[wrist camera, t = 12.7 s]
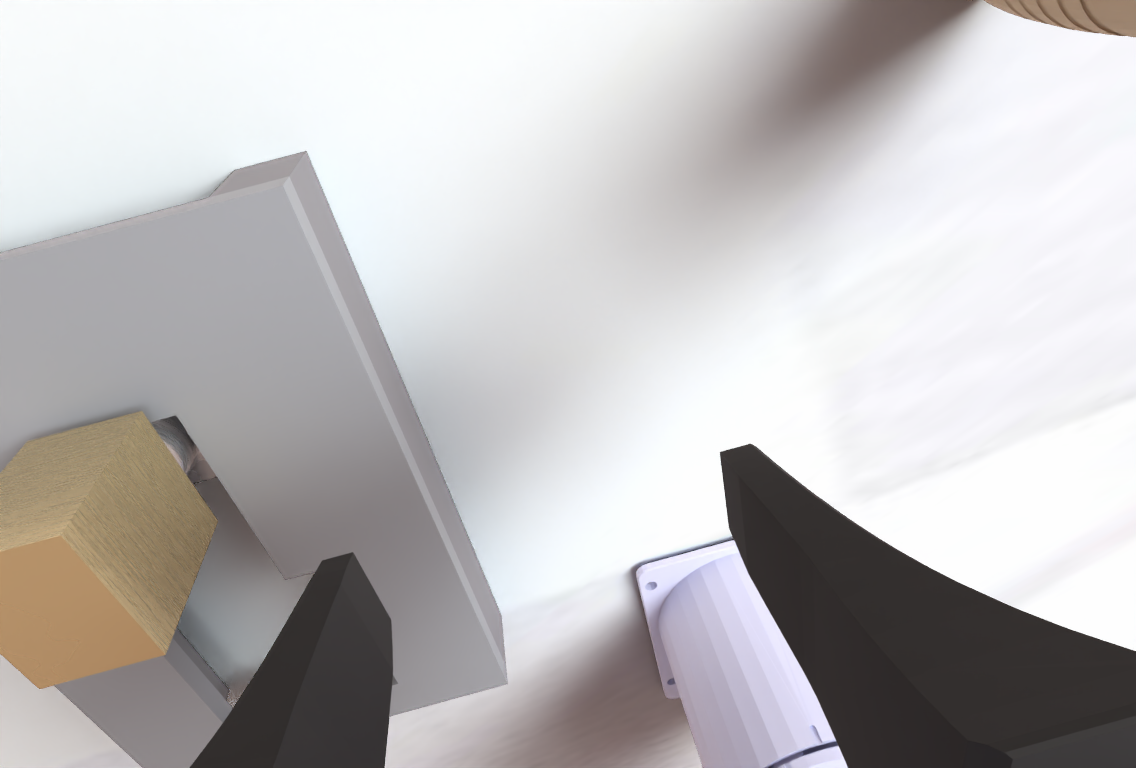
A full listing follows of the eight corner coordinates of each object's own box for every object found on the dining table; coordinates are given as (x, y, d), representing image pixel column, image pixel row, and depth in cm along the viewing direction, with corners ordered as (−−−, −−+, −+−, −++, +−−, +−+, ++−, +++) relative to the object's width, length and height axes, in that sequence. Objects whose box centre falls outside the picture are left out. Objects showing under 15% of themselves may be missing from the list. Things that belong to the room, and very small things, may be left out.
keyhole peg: (285, 442, 23) (217, 656, 16) (142, 480, 23) (10, 712, 16) (213, 314, 21) (94, 504, 14) (51, 357, 21) (-155, 572, 14)
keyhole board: (501, 615, 30) (507, 683, 27) (183, 702, 29) (156, 780, 27) (306, 151, 19) (282, 185, 16) (-202, 285, 18) (-315, 343, 16)
